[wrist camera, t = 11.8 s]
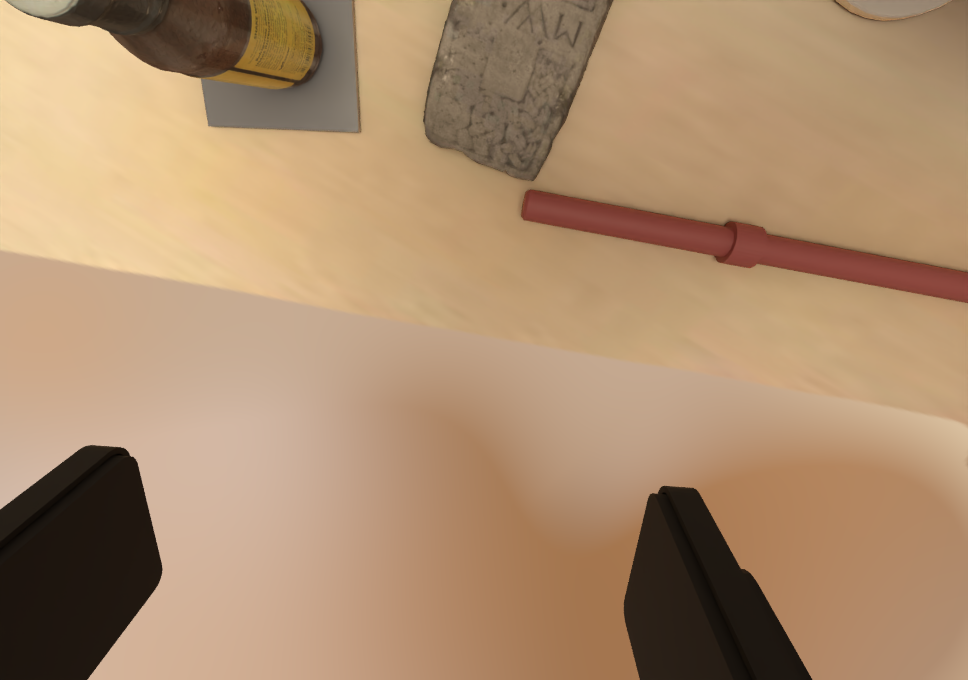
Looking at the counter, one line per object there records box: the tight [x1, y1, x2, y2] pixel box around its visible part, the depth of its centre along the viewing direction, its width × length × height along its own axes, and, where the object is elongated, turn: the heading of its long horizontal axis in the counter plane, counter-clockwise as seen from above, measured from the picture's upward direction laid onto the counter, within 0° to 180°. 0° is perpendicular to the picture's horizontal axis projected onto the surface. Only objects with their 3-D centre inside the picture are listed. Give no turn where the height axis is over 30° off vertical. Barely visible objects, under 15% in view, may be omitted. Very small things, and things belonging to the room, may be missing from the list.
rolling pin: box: [521, 190, 968, 303], centre depth 39 cm, size 45×3×3 cm, turn 80°
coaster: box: [201, 0, 361, 132], centre depth 35 cm, size 11×11×1 cm
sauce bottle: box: [5, 0, 322, 89], centre depth 26 cm, size 6×6×20 cm
